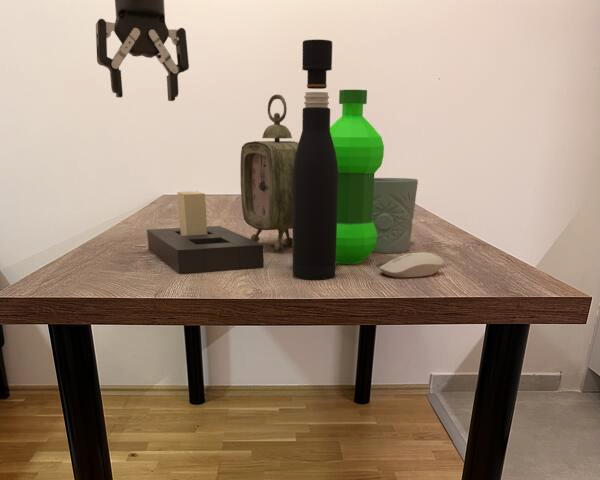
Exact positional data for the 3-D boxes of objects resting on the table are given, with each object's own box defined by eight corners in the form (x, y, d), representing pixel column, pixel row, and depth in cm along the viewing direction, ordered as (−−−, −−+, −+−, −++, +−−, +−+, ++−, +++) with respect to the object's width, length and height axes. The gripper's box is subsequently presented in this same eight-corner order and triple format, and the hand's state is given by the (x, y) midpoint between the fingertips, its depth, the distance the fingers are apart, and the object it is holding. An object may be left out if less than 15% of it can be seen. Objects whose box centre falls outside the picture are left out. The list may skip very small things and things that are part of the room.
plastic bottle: (386, 265, 102) (398, 89, 91) (323, 267, 100) (327, 87, 89) (368, 254, 111) (376, 92, 100) (309, 256, 109) (311, 91, 98)
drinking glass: (381, 255, 110) (385, 181, 105) (346, 247, 118) (348, 178, 113) (424, 250, 115) (430, 179, 110) (388, 243, 123) (392, 176, 118)
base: (179, 274, 96) (177, 250, 94) (148, 249, 115) (146, 229, 113) (263, 267, 101) (263, 244, 99) (221, 245, 120) (220, 225, 118)
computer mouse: (373, 272, 98) (374, 252, 96) (429, 267, 101) (431, 248, 99) (392, 279, 93) (393, 258, 91) (450, 275, 96) (452, 254, 94)
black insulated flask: (343, 277, 94) (352, 40, 81) (306, 281, 91) (309, 36, 78) (320, 269, 99) (324, 45, 86) (284, 273, 96) (283, 42, 83)
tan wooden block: (188, 256, 109) (183, 194, 105) (181, 251, 113) (177, 191, 109) (208, 254, 111) (204, 193, 106) (201, 250, 114) (197, 191, 110)
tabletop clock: (242, 243, 122) (237, 95, 111) (284, 239, 126) (284, 97, 115) (274, 255, 110) (272, 92, 100) (319, 251, 114) (322, 93, 103)
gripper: (93, -33, 92) (105, 93, 98) (189, -19, 98) (194, 99, 104) (87, -20, 99) (97, 98, 105) (177, -8, 104) (182, 103, 110)
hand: (146, 98), depth 104 cm, fingers open, 8 cm apart
